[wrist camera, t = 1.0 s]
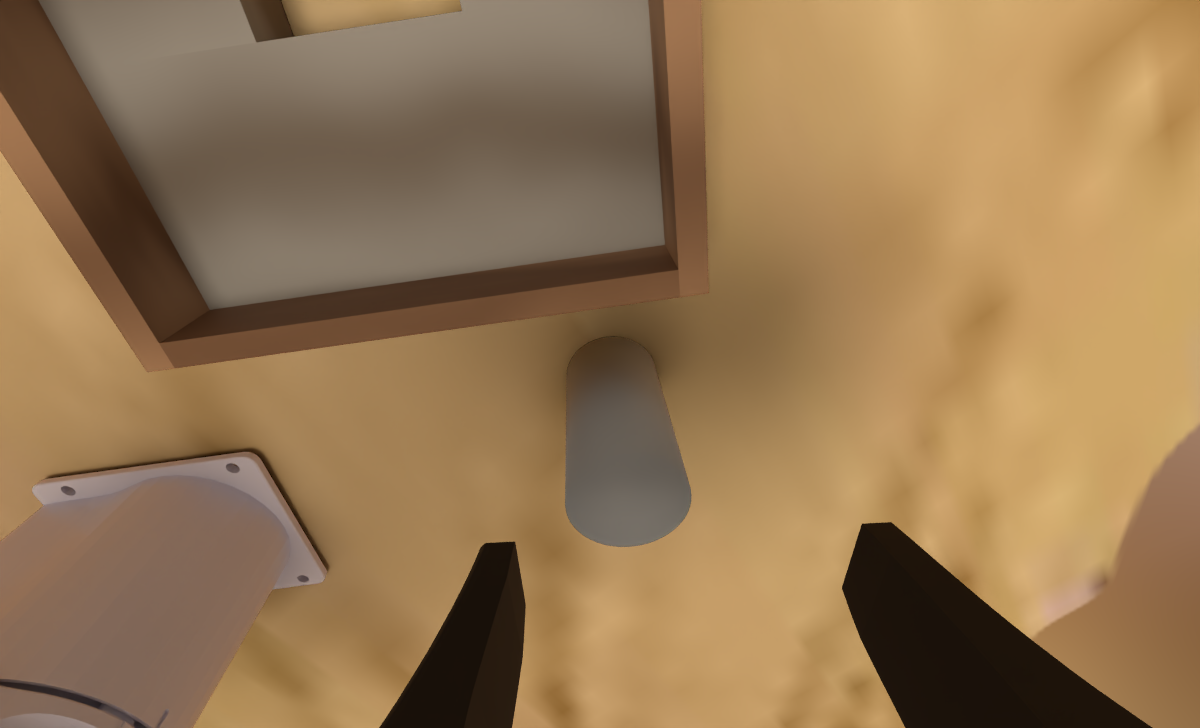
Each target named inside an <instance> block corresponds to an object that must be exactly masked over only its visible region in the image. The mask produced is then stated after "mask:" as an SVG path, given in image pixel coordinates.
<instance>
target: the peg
mask: <svg viewBox="0 0 1200 728" xmlns="http://www.w3.org/2000/svg"><path fill="white" fill-rule="evenodd" d="M690 504H691V488H690V485H689V481H688V478H687V474H686V471H685V468H684V464H683V461H682V457H681V454H680V450H679V447H678V444H677V440H676V437H675V433H674V430H673V426H672V423H671V419H670V416H669V413H668V409H667V406H666V402H665V399H664V395H663V392H662V389H661V385H660V382H659V378H658V375H657V371H656V368H655V365H654V362H653V359H652V357H651V356H650V354H649V353H648V352H647V350H646V349H645V348H644V347H642V346H641V345H640V344H638V343H636V342H634V341H632V340H630V339H626V338H622V337H604V338H599V339H596V340H593V341H591V342H589V343H587V344H586V345H584V346H583V347H582V348H580V349H579V350H578V351H577V352H576V353H575V355H574V356H573V357H572V359H571V361H570V363H569V366H568V369H567V387H566V482H565V507H566V513H567V516H568V518H569V520H570V522H571V523H572V525H573V526H574V527H575V528H576V529H577V530H578V531H579V532H580V533H581V534H582V535H584V536H585V537H587V538H589V539H590V540H593V541H595V542H598V543H601V544H604V545H609V546H617V547H630V546H638V545H643V544H647V543H650V542H653V541H656V540H658V539H660V538H662V537H664V536H666V535H667V534H669V533H670V532H672V531H673V530H674V529H675V528H676V527H677V526H678V525H679V524H680V523H681V522H682V521H683V519H684V518H685V516H686V515H687V513H688V510H689V508H690Z"/></svg>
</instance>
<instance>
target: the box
mask: <svg viewBox="0 0 1200 728" xmlns="http://www.w3.org/2000/svg"><path fill="white" fill-rule="evenodd" d="M460 3H461V8H462V11H459V12H453V13H446V14H439V15H433V16H426V17H420V18H413V19H407V20H400V21H394V22H387V23H381V24H374V25H368V26H361V27H354V28H348V29H341V30H335V31H328V32H322V33H315V34H309V35H302V36H296V37H293V34H292V31H291V28H290V26H289V23H288V20H287V17H286V14H285V12H284V9H283V6H282V3H281V1H280V0H0V151H1V153H2V154H3V156H4V157H5V159H6V160H7V162H8V163H9V165H10V166H11V168H12V169H13V171H14V172H15V174H16V175H17V177H18V178H19V180H20V181H21V183H22V184H23V186H24V187H25V189H26V190H27V192H28V193H29V195H30V196H31V198H32V199H33V201H34V202H35V204H36V205H37V207H38V208H39V210H40V211H41V213H42V214H43V216H44V217H45V219H46V220H47V222H48V223H49V225H50V226H51V228H52V230H53V231H54V233H55V234H56V236H57V237H58V239H59V240H60V242H61V243H62V245H63V246H64V248H65V249H66V251H67V252H68V254H69V255H70V257H71V258H72V260H73V261H74V263H75V264H76V266H77V267H78V269H79V270H80V272H81V273H82V275H83V276H84V278H85V279H86V281H87V282H88V284H89V285H90V287H91V288H92V290H93V291H94V293H95V294H96V296H97V297H98V299H99V300H100V302H101V303H102V305H103V306H104V308H105V309H106V311H107V312H108V314H109V315H110V317H111V318H112V320H113V321H114V323H115V324H116V326H117V327H118V329H119V330H120V332H121V333H122V335H123V336H124V338H125V340H126V341H127V343H128V344H129V346H130V347H131V349H132V350H133V352H134V353H135V355H136V356H137V358H138V359H139V361H140V362H141V364H142V365H143V367H144V368H145V370H146V371H147V372H152V371H159V370H166V369H173V368H181V367H188V366H195V365H202V364H209V363H216V362H223V361H230V360H237V359H244V358H252V357H259V356H266V355H273V354H280V353H287V352H294V351H301V350H308V349H315V348H323V347H330V346H337V345H344V344H351V343H358V342H365V341H372V340H379V339H387V338H394V337H401V336H408V335H415V334H422V333H429V332H436V331H443V330H450V329H458V328H465V327H472V326H479V325H486V324H493V323H500V322H507V321H514V320H521V319H529V318H536V317H543V316H550V315H557V314H564V313H571V312H578V311H585V310H592V309H600V308H607V307H614V306H621V305H628V304H635V303H642V302H649V301H656V300H663V299H671V298H678V297H685V296H692V295H699V294H706V293H709V283H708V245H707V206H706V168H705V129H704V91H703V52H702V14H701V0H460Z"/></svg>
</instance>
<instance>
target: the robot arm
mask: <svg viewBox="0 0 1200 728" xmlns="http://www.w3.org/2000/svg"><path fill="white" fill-rule="evenodd" d="M234 464H236V465H237V466H235V465H234ZM32 492H33V494H34V495H35V496H36V498H37V499H38V500H39V501H40V502H41V503H42V504H43V505H44V506H43V507H41V508H40V509H39V510H38V511H37V512H35V513H34V514H33V515H32V516H30V517H29V518H28V519H27V520H26V521H24V522H23V523H22V524H21V525H20V526H18V527H17V528H16V529H15V530H13V531H12V532H11V533H10V534H9V535H7V536H6V537H5V538H4V539H3V540H1V541H0V728H193V727H194V725H195V723H196V721H197V720H198V718H199V716H200V714H201V713H202V711H203V709H204V708H205V706H206V704H207V702H208V701H209V699H210V697H211V695H212V694H213V692H214V690H215V688H216V687H217V685H218V683H219V681H220V680H221V678H222V676H223V674H224V673H225V671H226V669H227V667H228V666H229V664H230V662H231V661H232V659H233V657H234V655H235V654H236V652H237V650H238V648H239V647H240V645H241V643H242V641H243V640H244V638H245V636H246V634H247V633H248V631H249V629H250V627H251V626H252V624H253V622H254V620H255V619H256V617H257V615H258V614H259V612H260V610H261V608H262V607H263V605H264V603H265V601H266V600H267V598H268V596H269V594H270V593H271V591H272V589H280V588H287V587H295V586H302V585H310V584H317V583H321V582H323V581H324V579H325V577H326V575H327V570H326V568H325V567H324V565H323V563H322V562H321V560H320V558H319V557H318V555H317V553H316V552H315V550H314V548H313V546H312V545H311V543H310V541H309V540H308V538H307V536H306V535H305V533H304V531H303V530H302V528H301V526H300V525H299V523H298V521H297V520H296V518H295V516H294V514H293V513H292V511H291V509H290V508H289V506H288V504H287V503H286V501H285V499H284V498H283V496H282V494H281V493H280V491H279V489H278V488H277V486H276V484H275V482H274V481H273V479H272V477H271V476H270V474H269V472H268V471H267V469H266V467H265V466H264V464H263V462H262V461H261V459H260V458H259V457H258V456H257V455H255V454H254V453H251V452H239V453H231V454H224V455H217V456H210V457H202V458H195V459H188V460H180V461H173V462H166V463H159V464H151V465H144V466H137V467H129V468H122V469H115V470H108V471H100V472H93V473H86V474H78V475H71V476H64V477H57V478H49V479H43V480H41V481H39V482H38V483H37V484H35V485H34V486H33V487H32ZM842 590H843V592H844V595H845V598H846V601H847V604H848V606H849V609H850V612H851V615H852V618H853V620H854V623H855V625H856V628H857V631H858V633H859V636H860V638H861V640H862V642H863V645H864V647H865V649H866V651H867V653H868V655H869V657H870V659H871V661H872V663H873V665H874V667H875V669H876V671H877V673H878V675H879V677H880V679H881V681H882V683H883V685H884V687H885V689H886V691H887V693H888V694H889V696H890V698H891V700H892V702H893V704H894V706H895V708H896V710H897V712H898V714H899V716H900V718H901V720H902V722H903V724H904V726H905V728H1152V727H1150V726H1149V725H1147V724H1146V723H1145V722H1143V721H1142V720H1140V719H1139V718H1137V717H1136V716H1135V715H1133V714H1132V713H1130V712H1129V711H1127V710H1126V709H1125V708H1123V707H1122V706H1120V705H1119V704H1117V703H1116V702H1114V701H1113V700H1112V699H1110V698H1109V697H1107V696H1106V695H1104V694H1103V693H1102V692H1100V691H1099V690H1097V689H1096V688H1095V687H1093V686H1092V685H1090V684H1089V683H1088V682H1086V681H1085V680H1084V679H1082V678H1081V677H1079V676H1078V675H1077V674H1075V673H1074V672H1073V671H1071V670H1070V669H1069V668H1067V667H1066V666H1065V665H1063V664H1062V663H1061V662H1060V661H1058V660H1057V659H1056V658H1054V657H1053V656H1052V655H1050V654H1049V653H1048V652H1047V651H1045V650H1044V649H1043V648H1041V647H1040V646H1039V645H1037V644H1036V643H1035V642H1033V641H1032V640H1031V639H1030V638H1028V637H1027V636H1026V635H1025V634H1023V633H1022V632H1021V631H1020V630H1018V629H1017V628H1016V627H1015V626H1013V625H1012V624H1011V623H1010V622H1008V621H1007V620H1006V619H1005V618H1003V617H1002V616H1001V615H1000V614H998V613H997V612H996V611H995V610H994V609H992V608H991V607H990V606H989V605H988V604H986V603H985V602H984V601H983V600H982V599H980V598H979V597H978V596H977V595H976V594H974V593H973V592H972V591H971V590H970V589H968V588H967V587H966V586H965V585H964V584H963V583H961V582H960V581H959V580H958V579H957V578H956V577H954V576H953V575H952V574H951V573H950V572H949V571H947V570H946V569H945V568H944V567H943V566H942V565H940V564H939V563H938V562H937V561H936V560H935V559H933V558H932V557H931V556H930V555H929V554H928V553H927V552H925V551H924V550H923V549H922V548H921V547H920V546H918V545H917V544H916V543H915V542H914V541H913V540H911V539H910V538H909V537H908V536H907V535H906V534H904V533H903V532H902V531H901V530H900V529H899V528H897V527H896V526H895V525H894V524H893V523H891V522H888V523H868V524H862V525H861V529H860V532H859V535H858V538H857V541H856V544H855V548H854V551H853V554H852V557H851V560H850V564H849V567H848V570H847V573H846V576H845V580H844V583H843V586H842ZM525 606H526V604H525V598H524V592H523V586H522V580H521V574H520V568H519V562H518V556H517V550H516V544H515V542H499V543H485V544H484V545H483V546H482V547H481V548H480V550H479V553H478V555H477V558H476V560H475V562H474V564H473V566H472V569H471V571H470V573H469V575H468V577H467V579H466V581H465V583H464V585H463V587H462V589H461V591H460V593H459V595H458V597H457V599H456V601H455V603H454V605H453V607H452V609H451V611H450V613H449V614H448V616H447V618H446V620H445V622H444V623H443V625H442V627H441V629H440V631H439V632H438V634H437V636H436V638H435V640H434V641H433V643H432V645H431V647H430V648H429V650H428V652H427V654H426V655H425V657H424V659H423V660H422V662H421V663H420V665H419V667H418V668H417V670H416V671H415V673H414V675H413V676H412V678H411V680H410V681H409V683H408V684H407V686H406V688H405V689H404V691H403V693H402V694H401V696H400V697H399V699H398V700H397V702H396V704H395V705H394V707H393V708H392V710H391V711H390V713H389V714H388V716H387V717H386V719H385V720H384V722H383V723H382V725H381V726H380V727H379V728H512V724H513V717H514V711H515V704H516V698H517V691H518V685H519V678H520V671H521V665H522V658H523V643H524V625H525Z"/></svg>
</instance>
